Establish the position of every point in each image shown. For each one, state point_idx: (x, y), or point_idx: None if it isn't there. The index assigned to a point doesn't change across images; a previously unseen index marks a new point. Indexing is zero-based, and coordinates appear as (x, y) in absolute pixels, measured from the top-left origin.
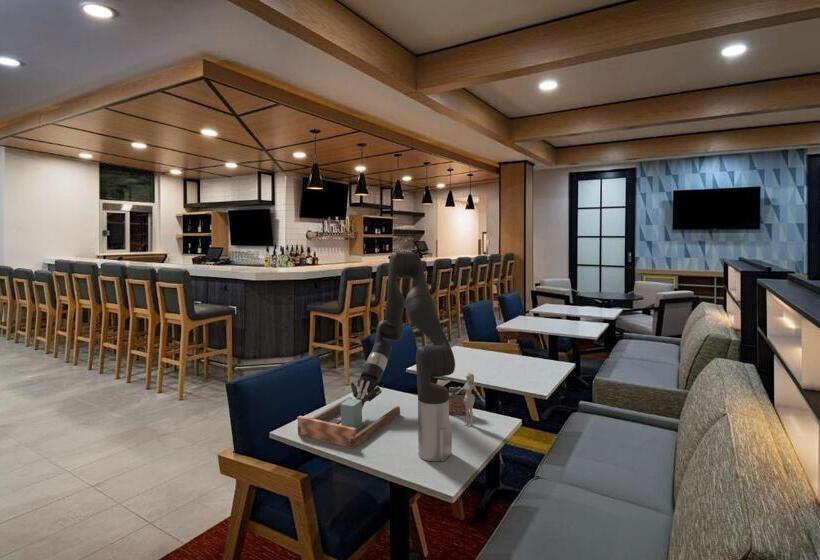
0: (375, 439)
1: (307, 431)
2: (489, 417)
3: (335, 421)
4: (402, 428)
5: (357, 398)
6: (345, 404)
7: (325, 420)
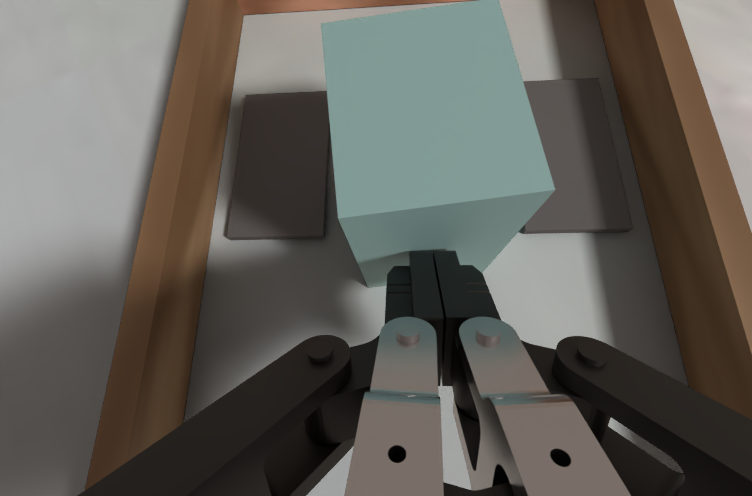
0: (159, 117)
1: None
2: None
3: None
4: (34, 327)
5: (485, 318)
6: (441, 18)
7: (640, 182)
